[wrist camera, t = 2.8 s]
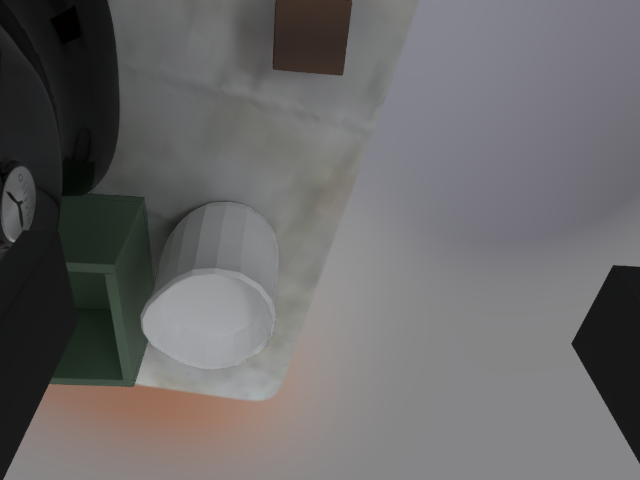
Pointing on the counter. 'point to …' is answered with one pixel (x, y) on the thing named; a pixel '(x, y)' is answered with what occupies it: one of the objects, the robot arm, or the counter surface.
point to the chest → (105, 288)
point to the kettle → (54, 108)
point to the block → (311, 35)
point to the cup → (214, 288)
